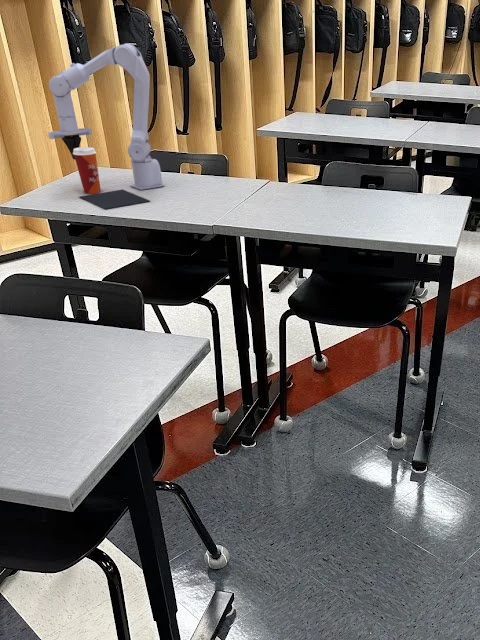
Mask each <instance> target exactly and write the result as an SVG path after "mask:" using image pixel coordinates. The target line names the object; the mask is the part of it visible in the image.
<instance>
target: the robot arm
mask: <svg viewBox="0 0 480 640" xmlns="http://www.w3.org/2000/svg"><path fill="white" fill-rule="evenodd" d="M107 65H113V66H116V65H118V66H120V67H121V68H122V69H123V70H125V71H126V72H127V73H128V75H130V76H131V77H132V79H133V80H134V84H133V85H134V87H133V115H132V116H133V117H132V131H131V137H130V144H129V145H128V148H127V154H128V156H129V157H130V163H131V170H132V177H133V182H134V183H133V184H132V183H131V184H130V187H132V188H134V189H137V190H140V191H143V190H148V189H155V188H161V187H164V186H165V185H164V183H163V177H162V169H161V165H160V163H159V161H158V160H157V159H156V158H152V157H151V155H150V154H151V152H152V151H151V150H152V147H151V144H150V141H149V138H150V137H149V132H148V126H149V105H150V86H151V75H150V72H149V70H148V67H147V65H146V63H145V61H144V58H143V56H142V52H141V51H139V50H138V48H137V47H136V46H135V45H133V44H132V43H129V42H125V43H123V44H119V45H117V46H115V47H112V48H109V49H106V50H104V51H102V52H101V53H99V54H98V55H96V56H95V57H94V58H92V59H90V60H89V61H87V62H86V63H84V64H81V63H79V62H77V63H75V62H71V63H70V64H69V66H70V67H68V68H66V69H65V70H63V71H62V70H61V71H59V72H58V74H59V75H54V76H52V77H51V78H50V79H49V81H48V88H49V91H50V92H51V93H52V95H53V100H54V105H55V106H54V107H55V110H56V114H57V119H58V123H59V128H60V130H59V129H58V130H55V131H47V134H48V138H49V139H50V140H55V139H61V140H62V141H63V143H64V144H65V146H66V148H67V149H68V151H69V153H70V156H71V157H72V159H73V160H74V161H76V160H75V156H74V154H73V150H74V149H75V148H80V147H81V142H82V137H81V136H92V135H93V132H92V128H89V127H83V128H79V126H78V121H77V117H76V111H75V107H74V102H73V100H72V99H73V98H72V94H71V92H72V91H75V90H76V89H77V88H80V87H81V86H82V85H84V84H86V83H88V82H89V80H90V75H92V74H93V73H95V72H98V71H99V70H100V69H102V68H104V67H106V66H107Z"/></svg>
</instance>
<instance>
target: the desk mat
mask: <svg viewBox="0 0 480 640" xmlns="http://www.w3.org/2000/svg"><path fill="white" fill-rule="evenodd" d="M79 199H81V200H84V201H86V202H87V203H90V204H92V205H95V206H97V207H99V208H101V209H103V210H112V209H117V208H118V209H119V208H122V207H128V206H129V207H130V206H134V205H140V204H145V203H150V202H151V201H150V200H149V199H147V198H145V197H143V196H140V195H137V194H134V193H132V192H130V191H129V190H128V191H127V190H125V189H123V188H121V189H117V190H110V191H104V192H99V193H94V194H86V195H80V196H79Z"/></svg>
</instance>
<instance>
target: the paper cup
mask: <svg viewBox="0 0 480 640" xmlns="http://www.w3.org/2000/svg"><path fill="white" fill-rule="evenodd" d="M73 154H74V156H75V160H74V161H75V163H76V164H75V165H76V166H77V171H78V174H79V175H78V176H79V178H80V179H79V180H80V182H81V185H82V188H83V193H84V194H86V195H92V194H98V193H102V192H101V191H102V189H101V182H100V175H99V168H98V161H97V151H96V150H95V148H94V147H91V146H82V147H81V146H80V147H79V148H75V149H74V150H73Z"/></svg>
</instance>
